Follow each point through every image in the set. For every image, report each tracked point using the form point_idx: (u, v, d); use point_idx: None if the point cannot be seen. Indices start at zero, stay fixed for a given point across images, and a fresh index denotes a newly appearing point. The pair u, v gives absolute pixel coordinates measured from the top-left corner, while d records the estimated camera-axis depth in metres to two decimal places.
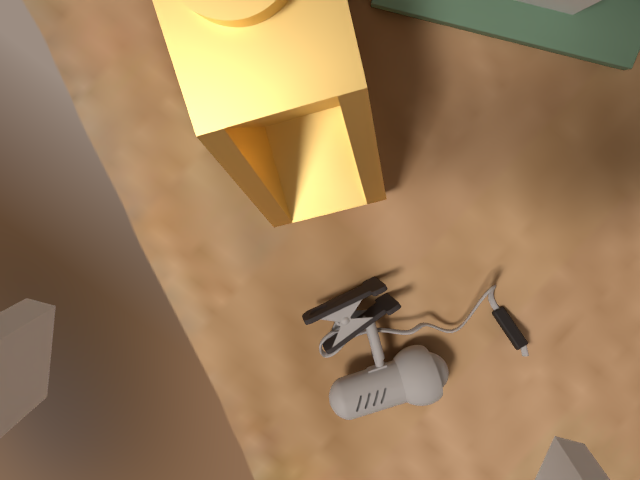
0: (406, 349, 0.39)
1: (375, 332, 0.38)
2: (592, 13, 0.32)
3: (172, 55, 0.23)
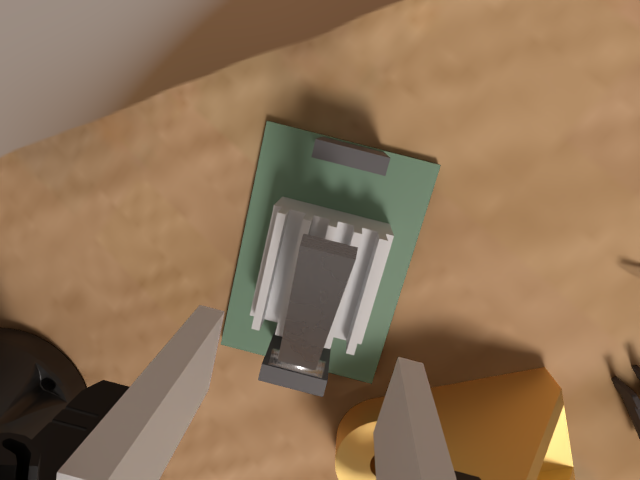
0: None
1: None
2: (389, 207, 0.36)
3: None
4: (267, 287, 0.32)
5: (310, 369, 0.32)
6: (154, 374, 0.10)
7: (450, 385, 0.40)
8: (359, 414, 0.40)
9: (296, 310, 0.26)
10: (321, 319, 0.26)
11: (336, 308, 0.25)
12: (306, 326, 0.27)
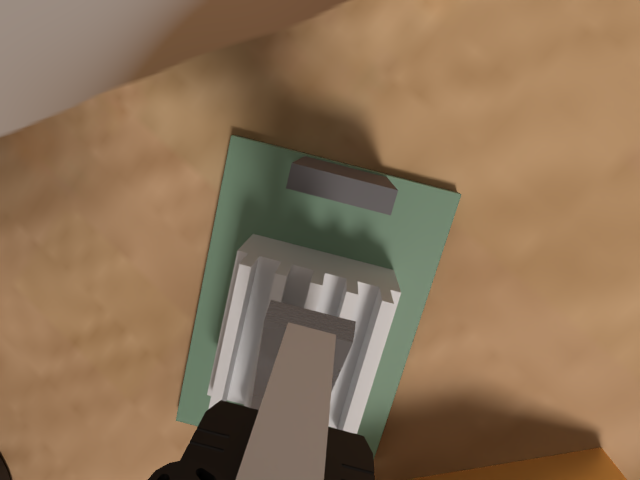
0: None
1: None
2: (393, 248, 0.27)
3: None
4: (227, 365, 0.23)
5: None
6: (275, 395, 0.10)
7: (479, 469, 0.31)
8: None
9: None
10: None
11: None
12: None
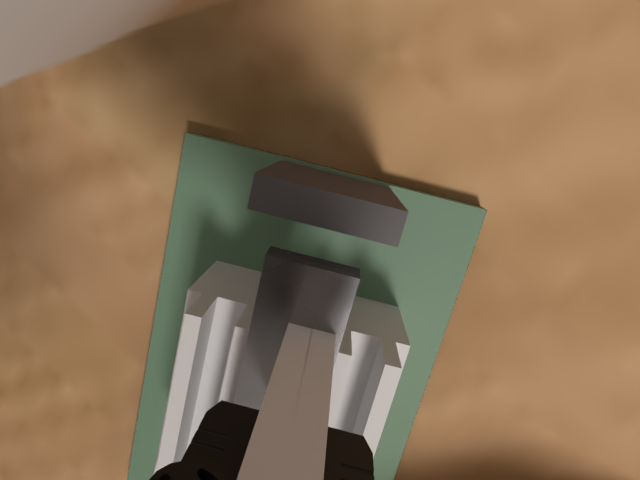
0: None
1: None
2: (398, 279, 0.21)
3: None
4: (172, 447, 0.17)
5: None
6: (276, 395, 0.10)
7: None
8: None
9: None
10: None
11: None
12: None
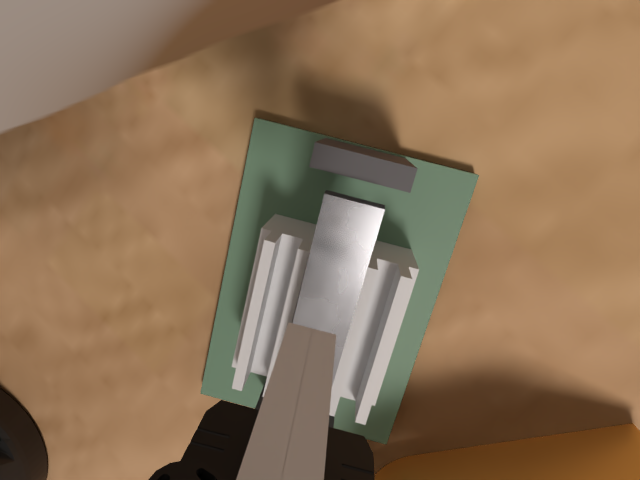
0: None
1: None
2: (411, 228, 0.28)
3: None
4: (252, 336, 0.24)
5: None
6: (276, 395, 0.10)
7: (510, 442, 0.32)
8: (396, 477, 0.32)
9: (306, 313, 0.22)
10: (335, 325, 0.22)
11: (356, 300, 0.21)
12: None
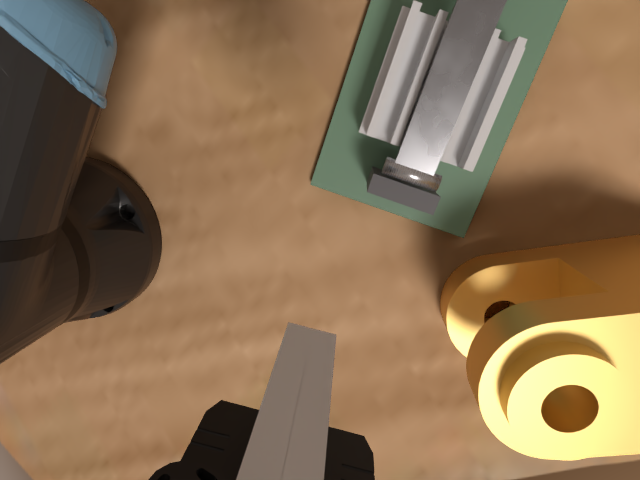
0: None
1: None
2: (510, 37, 0.34)
3: (623, 453, 0.27)
4: (390, 87, 0.30)
5: (428, 174, 0.31)
6: (276, 395, 0.10)
7: (572, 243, 0.38)
8: (475, 264, 0.38)
9: (446, 52, 0.28)
10: (467, 65, 0.28)
11: (488, 41, 0.28)
12: (448, 81, 0.29)
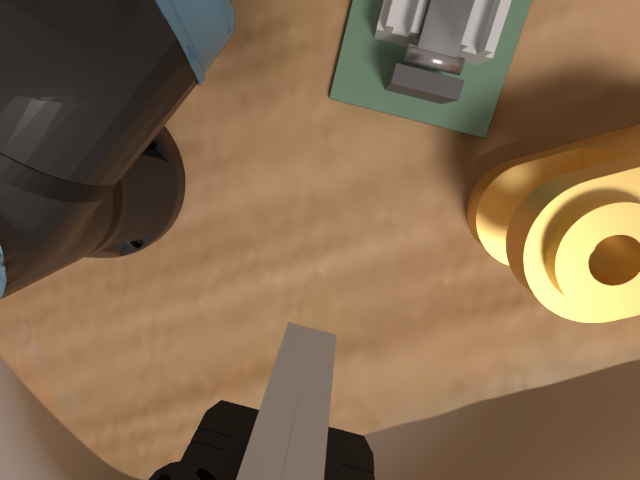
0: None
1: None
2: None
3: None
4: None
5: (451, 56, 0.31)
6: (276, 395, 0.10)
7: None
8: (498, 169, 0.39)
9: None
10: None
11: None
12: None
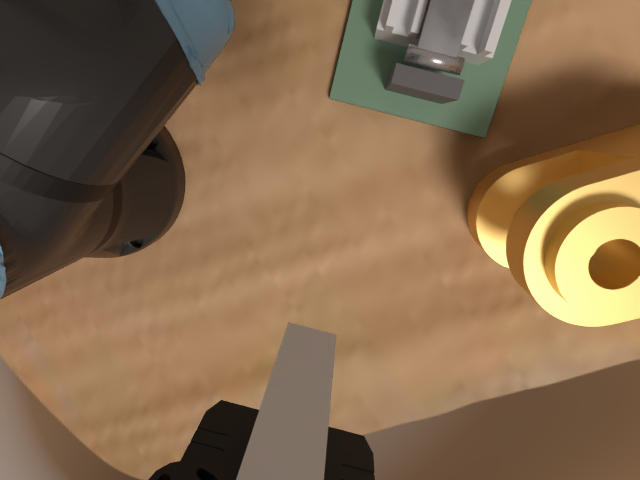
0: None
1: None
2: None
3: None
4: None
5: (451, 56, 0.31)
6: (276, 395, 0.10)
7: (589, 139, 0.39)
8: (497, 173, 0.39)
9: None
10: None
11: None
12: None
